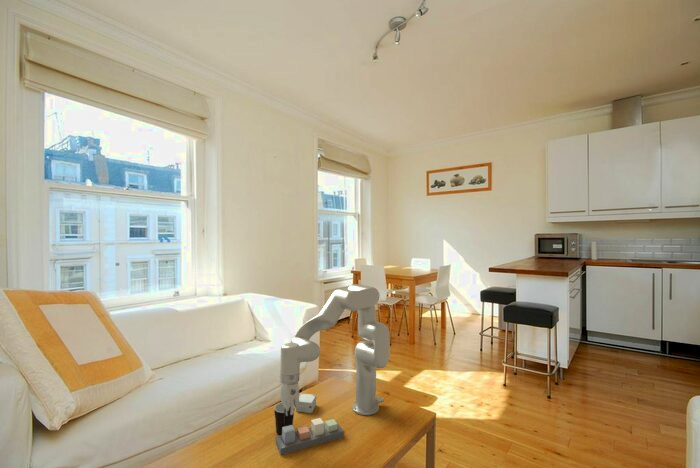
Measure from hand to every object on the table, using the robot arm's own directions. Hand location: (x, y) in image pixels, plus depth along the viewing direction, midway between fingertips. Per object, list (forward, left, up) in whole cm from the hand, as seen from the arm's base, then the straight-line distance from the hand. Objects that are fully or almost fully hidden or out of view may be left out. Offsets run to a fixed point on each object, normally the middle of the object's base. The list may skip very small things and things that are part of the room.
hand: (288, 424), depth 125 cm
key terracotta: (-6, 0, -8) cm, 10 cm away
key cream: (-12, 0, -6) cm, 14 cm away
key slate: (0, 0, -6) cm, 6 cm away
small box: (-16, -24, -9) cm, 30 cm away
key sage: (-18, 0, -8) cm, 20 cm away
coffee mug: (-2, -12, -9) cm, 15 cm away
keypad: (-9, 0, -9) cm, 13 cm away
